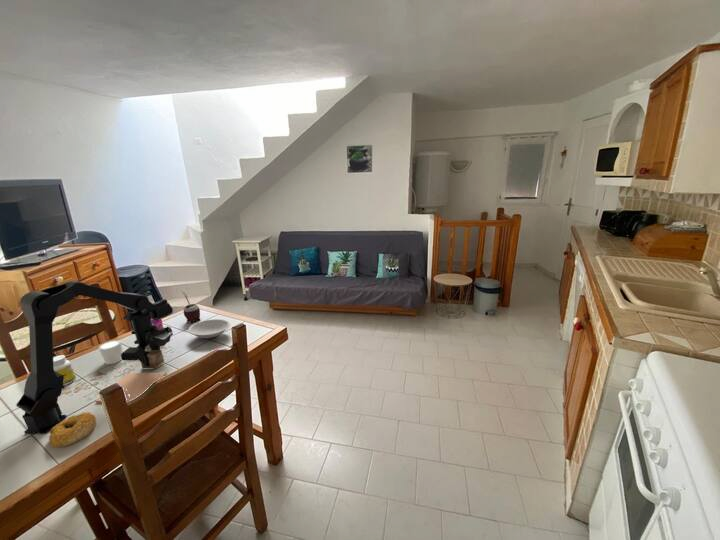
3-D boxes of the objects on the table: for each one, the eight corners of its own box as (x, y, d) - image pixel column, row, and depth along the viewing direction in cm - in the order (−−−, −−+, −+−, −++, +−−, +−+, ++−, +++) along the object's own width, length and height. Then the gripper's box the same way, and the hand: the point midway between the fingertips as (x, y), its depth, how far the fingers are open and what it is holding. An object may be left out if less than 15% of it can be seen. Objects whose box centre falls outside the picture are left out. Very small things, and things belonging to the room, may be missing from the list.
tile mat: (138, 403, 96) (137, 401, 96) (96, 402, 96) (95, 400, 96) (166, 374, 109) (165, 373, 109) (129, 374, 110) (128, 372, 109)
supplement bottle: (51, 388, 103) (41, 364, 100) (61, 378, 108) (52, 355, 105) (70, 385, 105) (61, 361, 102) (79, 375, 110) (71, 352, 107)
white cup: (113, 366, 115) (108, 350, 113) (98, 364, 116) (93, 348, 114) (129, 355, 121) (125, 340, 119) (115, 354, 122) (111, 339, 120)
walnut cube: (155, 368, 113) (152, 357, 111) (142, 368, 113) (139, 357, 111) (164, 360, 118) (161, 349, 116) (151, 360, 118) (148, 349, 116)
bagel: (86, 414, 92) (81, 402, 90) (105, 427, 87) (100, 415, 86) (43, 439, 84) (37, 426, 82) (61, 455, 79) (54, 442, 77)
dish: (237, 329, 141) (235, 319, 139) (221, 345, 127) (219, 335, 126) (202, 327, 142) (200, 318, 141) (182, 344, 129) (180, 334, 127)
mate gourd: (198, 323, 147) (192, 295, 142) (181, 324, 146) (175, 296, 141) (203, 316, 154) (198, 289, 149) (187, 317, 153) (181, 290, 148)
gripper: (146, 339, 101) (156, 378, 106) (179, 314, 119) (187, 348, 123) (114, 339, 101) (126, 377, 106) (152, 314, 119) (160, 348, 124)
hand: (152, 362), depth 115 cm, fingers closed on walnut cube, 5 cm apart
